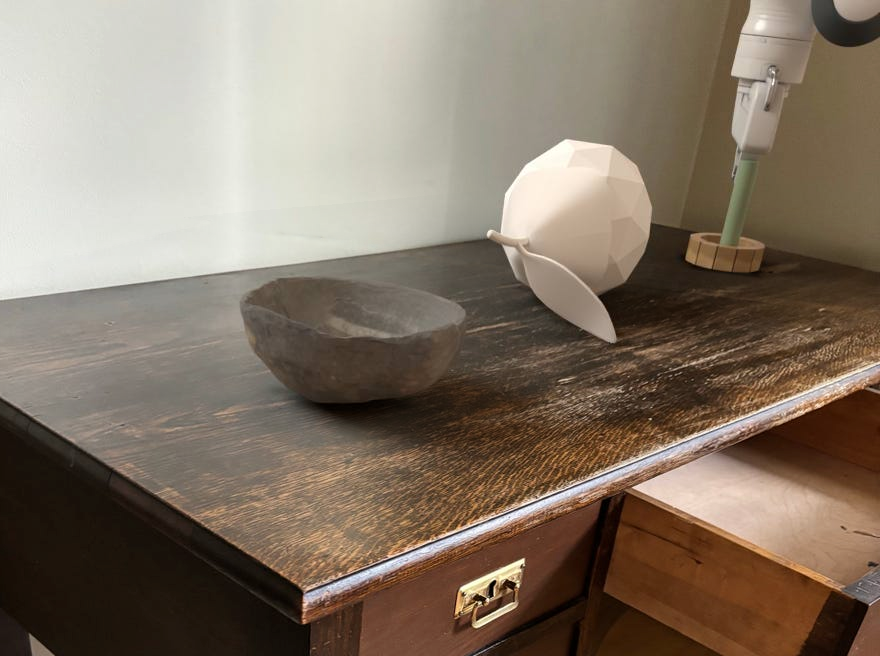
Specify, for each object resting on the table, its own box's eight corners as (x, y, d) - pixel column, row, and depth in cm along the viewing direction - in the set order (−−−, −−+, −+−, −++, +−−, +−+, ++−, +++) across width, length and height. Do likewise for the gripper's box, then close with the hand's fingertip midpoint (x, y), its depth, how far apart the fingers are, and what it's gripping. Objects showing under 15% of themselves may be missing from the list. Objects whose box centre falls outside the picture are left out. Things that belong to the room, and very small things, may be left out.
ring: (756, 261, 135) (762, 238, 134) (759, 276, 127) (766, 252, 126) (685, 251, 137) (691, 229, 136) (684, 265, 129) (690, 242, 128)
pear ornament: (604, 100, 109) (498, 111, 89) (732, 251, 110) (656, 298, 89) (511, 211, 120) (397, 244, 100) (627, 349, 121) (538, 410, 100)
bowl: (488, 388, 84) (501, 294, 80) (405, 454, 71) (414, 345, 66) (308, 347, 90) (310, 257, 85) (198, 401, 76) (195, 297, 72)
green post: (749, 271, 134) (778, 160, 126) (753, 284, 128) (785, 168, 120) (690, 264, 135) (716, 153, 127) (692, 276, 129) (720, 160, 121)
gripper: (805, 71, 113) (770, 198, 121) (786, 63, 130) (756, 176, 138) (750, 65, 114) (719, 192, 122) (738, 58, 131) (711, 170, 138)
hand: (738, 183), depth 130 cm, fingers open, 3 cm apart
